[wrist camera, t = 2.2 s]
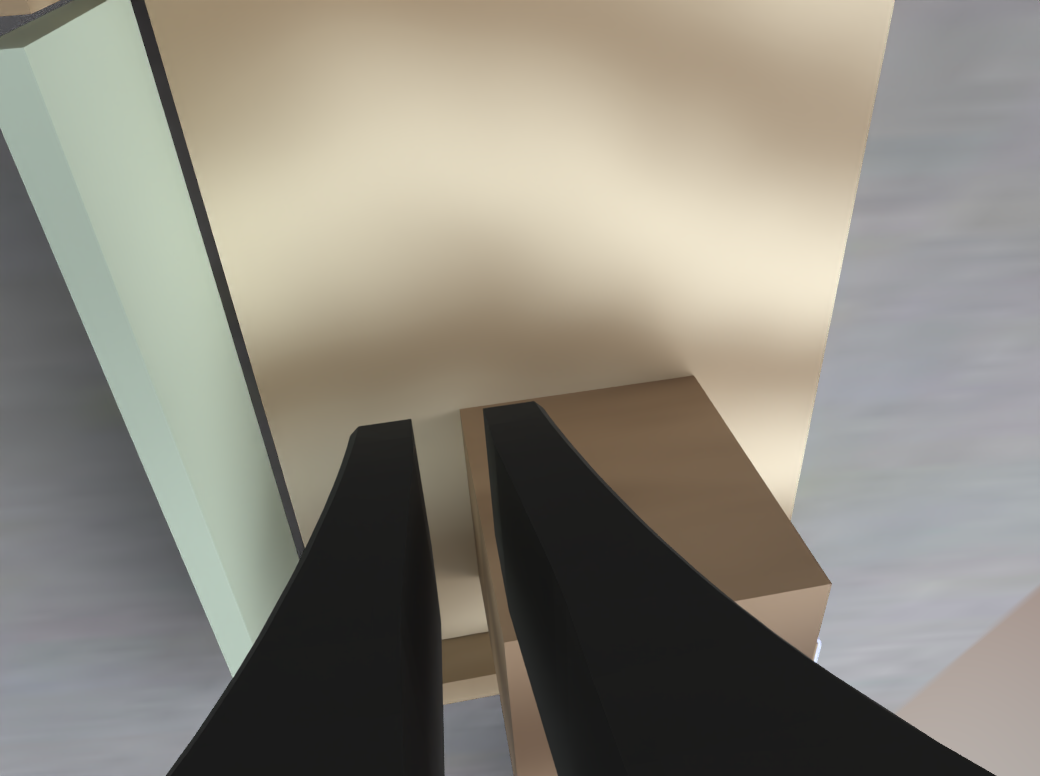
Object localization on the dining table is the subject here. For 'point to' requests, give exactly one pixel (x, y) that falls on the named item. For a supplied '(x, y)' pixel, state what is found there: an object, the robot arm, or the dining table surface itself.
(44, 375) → the dining table surface
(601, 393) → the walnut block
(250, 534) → the panel
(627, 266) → the cart bed
